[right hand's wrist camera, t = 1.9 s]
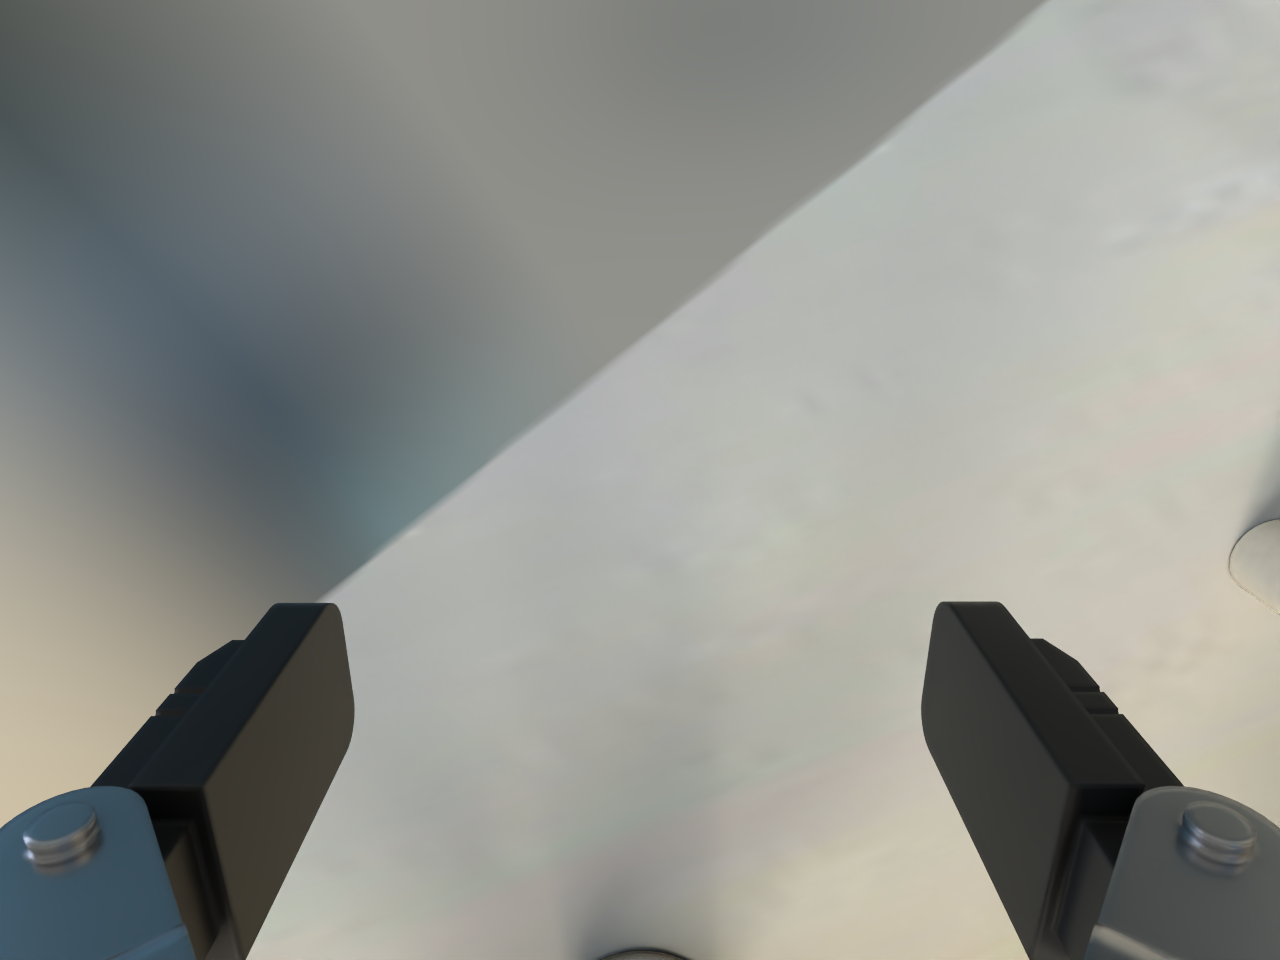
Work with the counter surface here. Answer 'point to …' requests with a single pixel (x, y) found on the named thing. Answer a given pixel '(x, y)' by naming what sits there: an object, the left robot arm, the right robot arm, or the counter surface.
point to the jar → (1259, 564)
